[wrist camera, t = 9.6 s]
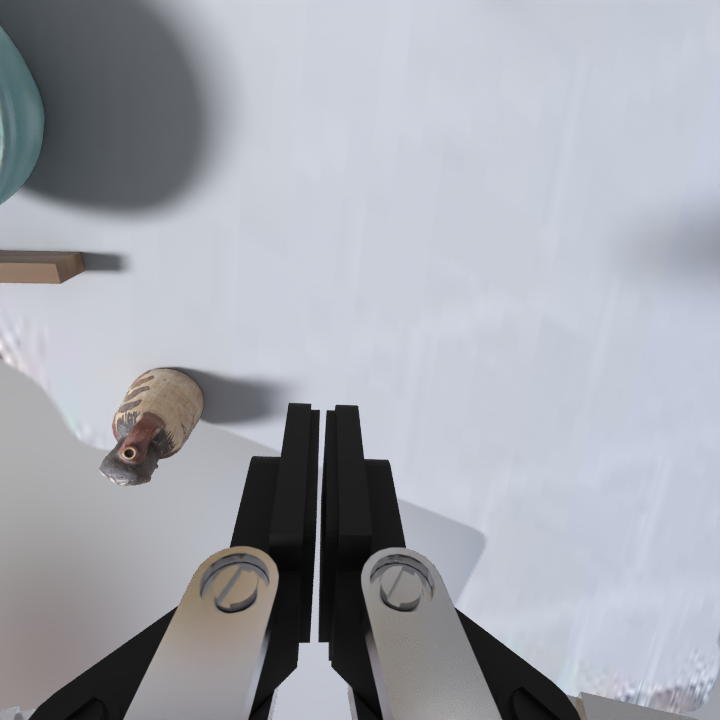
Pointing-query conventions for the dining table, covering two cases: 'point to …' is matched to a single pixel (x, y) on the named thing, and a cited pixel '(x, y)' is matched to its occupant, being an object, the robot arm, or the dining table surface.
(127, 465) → the figurine
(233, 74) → the dining table surface
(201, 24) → the dining table surface
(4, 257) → the walnut bay
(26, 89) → the flower pot
